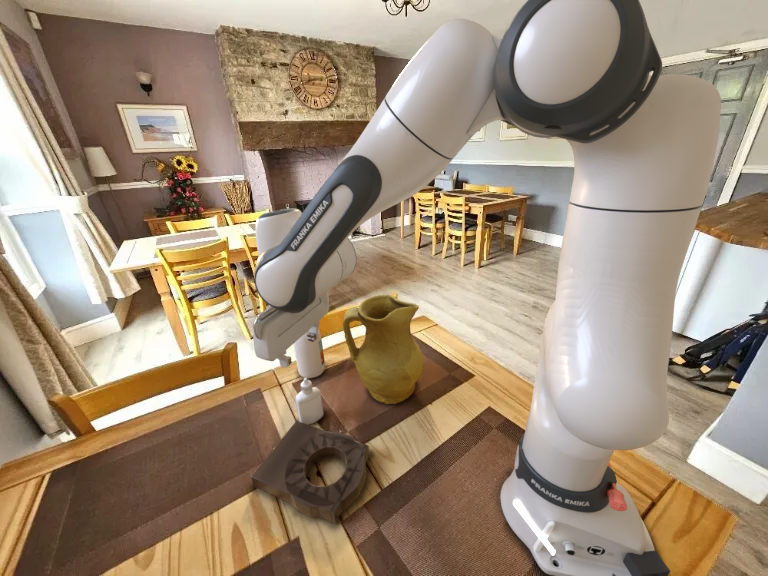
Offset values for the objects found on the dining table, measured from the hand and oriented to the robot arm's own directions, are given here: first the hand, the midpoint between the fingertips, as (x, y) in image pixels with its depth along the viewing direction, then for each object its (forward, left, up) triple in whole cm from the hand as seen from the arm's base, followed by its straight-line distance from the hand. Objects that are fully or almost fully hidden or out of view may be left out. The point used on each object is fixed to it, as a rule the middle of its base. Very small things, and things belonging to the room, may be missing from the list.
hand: (300, 351), depth 66 cm
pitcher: (-13, -17, -20) cm, 29 cm away
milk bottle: (+10, -15, -20) cm, 27 cm away
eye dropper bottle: (0, 0, -20) cm, 20 cm away
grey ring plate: (-8, +11, -19) cm, 24 cm away
